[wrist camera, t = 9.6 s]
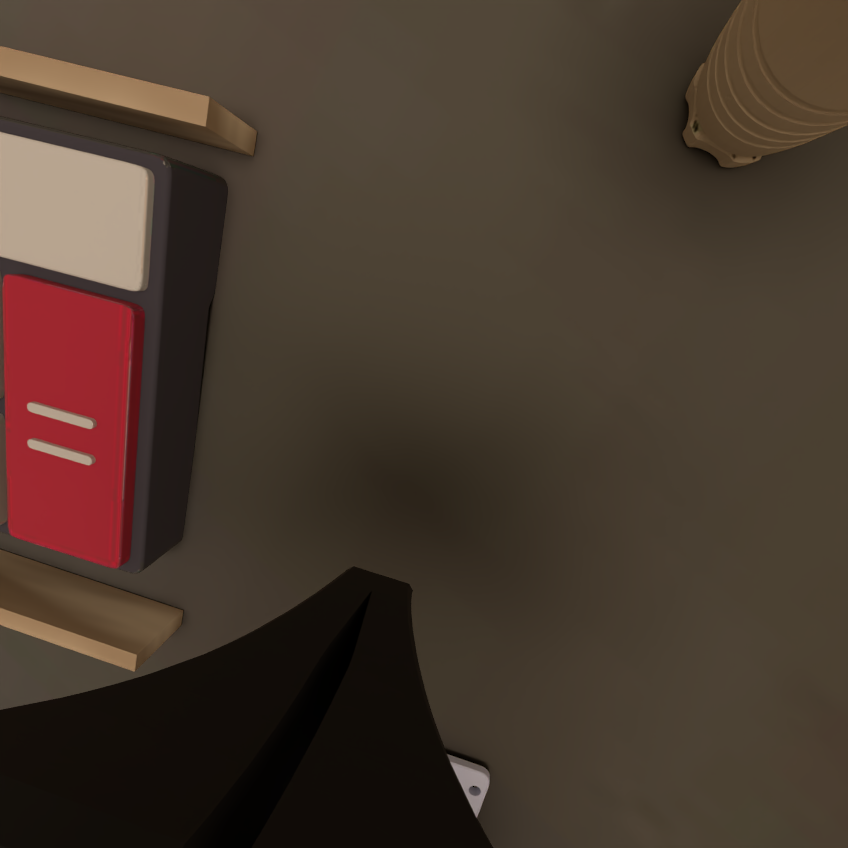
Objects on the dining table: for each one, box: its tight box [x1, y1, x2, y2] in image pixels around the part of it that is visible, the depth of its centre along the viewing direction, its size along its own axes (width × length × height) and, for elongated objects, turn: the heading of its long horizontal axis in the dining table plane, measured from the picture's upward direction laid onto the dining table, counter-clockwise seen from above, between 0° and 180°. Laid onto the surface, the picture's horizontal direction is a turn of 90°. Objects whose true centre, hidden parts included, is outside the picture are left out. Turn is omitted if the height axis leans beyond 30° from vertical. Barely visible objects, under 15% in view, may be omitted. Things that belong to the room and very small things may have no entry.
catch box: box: [0, 46, 257, 671], centre depth 19 cm, size 21×16×3 cm
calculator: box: [0, 116, 228, 573], centre depth 19 cm, size 11×4×15 cm
